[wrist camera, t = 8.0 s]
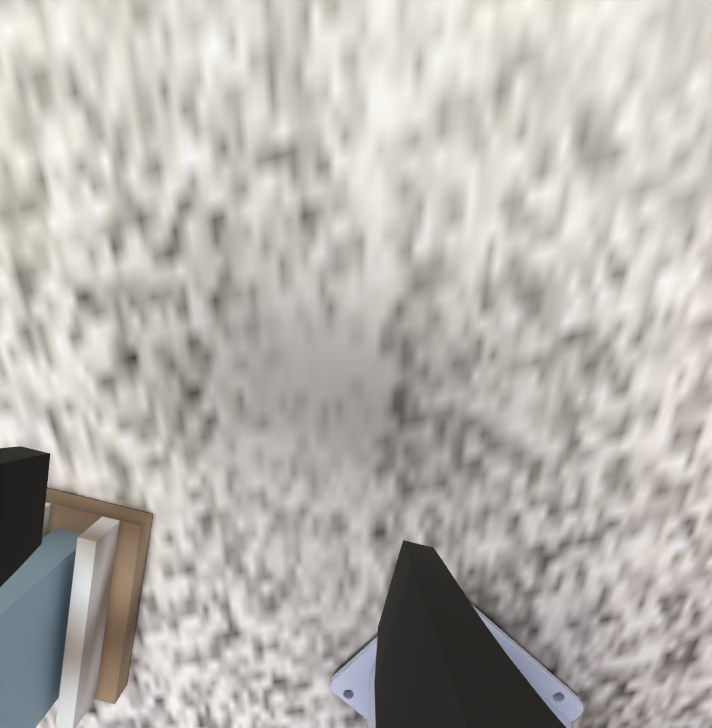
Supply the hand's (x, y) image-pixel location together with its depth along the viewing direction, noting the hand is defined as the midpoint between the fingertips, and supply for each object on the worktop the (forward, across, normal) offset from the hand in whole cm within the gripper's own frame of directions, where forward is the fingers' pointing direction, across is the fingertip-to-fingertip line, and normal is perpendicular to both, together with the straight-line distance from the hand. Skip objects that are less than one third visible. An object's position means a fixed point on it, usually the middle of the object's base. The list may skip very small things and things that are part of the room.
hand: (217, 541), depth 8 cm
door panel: (+9, +9, +12) cm, 18 cm away
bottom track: (+10, +9, +12) cm, 18 cm away
